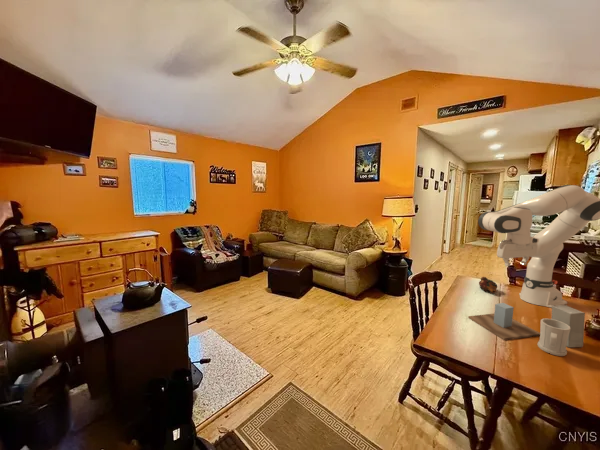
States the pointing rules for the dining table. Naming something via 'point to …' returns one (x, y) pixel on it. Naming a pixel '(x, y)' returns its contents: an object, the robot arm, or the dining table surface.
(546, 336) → the cup
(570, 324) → the skincare box
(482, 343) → the dining table surface
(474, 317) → the walnut base
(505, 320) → the tall grey rectangular prism
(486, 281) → the decorative turtle
